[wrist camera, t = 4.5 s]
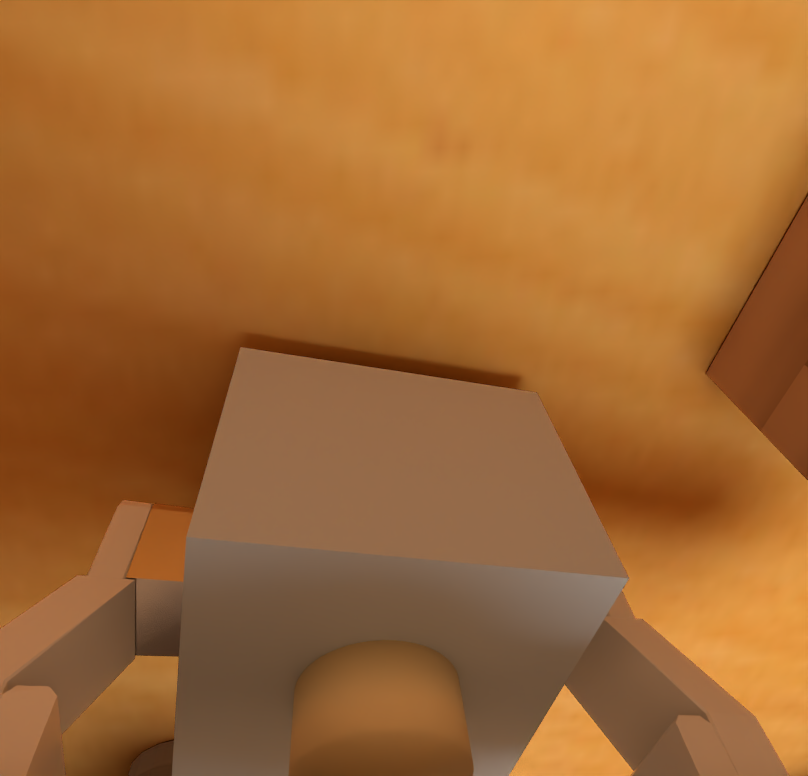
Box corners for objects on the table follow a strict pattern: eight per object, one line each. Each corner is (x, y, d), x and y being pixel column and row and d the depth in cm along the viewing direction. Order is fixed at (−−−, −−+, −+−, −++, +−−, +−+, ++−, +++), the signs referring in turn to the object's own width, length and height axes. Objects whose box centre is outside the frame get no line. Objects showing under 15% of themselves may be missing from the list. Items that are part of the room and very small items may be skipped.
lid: (218, 565, 14) (151, 874, 9) (240, 347, 11) (159, 628, 6) (459, 585, 15) (516, 871, 10) (536, 392, 12) (670, 660, 7)
